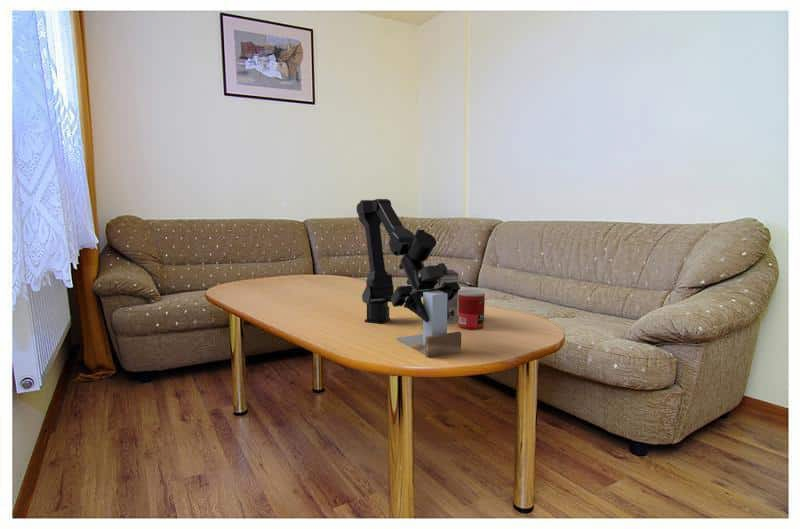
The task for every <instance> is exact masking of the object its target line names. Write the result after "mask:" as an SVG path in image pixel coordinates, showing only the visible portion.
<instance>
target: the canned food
mask: <svg viewBox="0 0 800 529" xmlns="http://www.w3.org/2000/svg"><path fill="white" fill-rule="evenodd" d="M485 298H486V297H485V291H482V290H479V289H478V290H477V289H460V290H459V291H458V317H457V325H458V328H460V329H463V330H466V329H468V330H469V331H476V330H477V329H479V330H482V329H483V328H484V327H485V300H486V299H485Z"/></svg>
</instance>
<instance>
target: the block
mask: <svg viewBox="0 0 800 529" xmlns="http://www.w3.org/2000/svg"><path fill="white" fill-rule="evenodd" d="M422 303H423V306H424V308H425V310H426V312H427V315H428V317H429V322H428V323H426V322H425V321H424V320H423V319H422V334H423V345H424V346H425V337H426V336H433V335H439V334H446V333H448V323H447V293H444V292H441V291H430V292H423V297H422Z"/></svg>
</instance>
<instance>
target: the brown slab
mask: <svg viewBox="0 0 800 529" xmlns="http://www.w3.org/2000/svg"><path fill="white" fill-rule="evenodd" d="M411 348H412V349H413V350H416V351H418V352H419V353H421V354H423V355H425V357H426V358H433V357H438V356H444V355H445V356H446V355H449V354H455V353H461V352H462V332H461V331H453V332H447V333H446V334H439V335H433V336H426V337H425V346H424V345H422V344H420V343H418V342H412V347H411Z"/></svg>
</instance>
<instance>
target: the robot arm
mask: <svg viewBox="0 0 800 529" xmlns="http://www.w3.org/2000/svg"><path fill="white" fill-rule="evenodd" d="M392 206H393V205H392V202H391V200H390V199H388V198H375V199H361V200H360V201H359V203H357V205H356V213H357V215H358V216H357V217H358V220H359V222H360V224H362V227H363V228H364V230H365V237H366V247H367V254H368V256H367V257H368V263H369V265H368V266H369V274H368V277H367V278H366V282H365V284H366V287H365V288H364V290H363V292H362V295H361V298H362V303H364V304H366V318H365V319H364V322H367V323H375V324H384V323H385V322H388V321H389V320H391V317H390V306H389V303H391V304H392V307H395V308H396V307H403V308H404V309H408V310H409V311H411V312H413V313H414V314H415V315H416V316H418V317H419V318H420V319H422V321H423V320H424V321H425V322H426V323H428V322H429V317H428V315H427V312H426V310H425V308H424V306H423V300H422V298H423V292H430V291H441V292H444V293H447V320H448V318H449V311H448V301H449V300H452V299H453V298H454V297H455V295H456V294H457V292H458V293H459V291H461V286H460V283H459V282H458V283H457V282H456V281H450V282H444V283H443V284H442V286H441V287H440V288H435V285H437V283H438V281H437V280H438V279H440V278H443V277H444V276H445V275H446V274H447V273H448V271H447V270H448V268H447V266H446V264H445V263H444V262H442V263H441V262H440V263H438V264H434V265H427V266H426V265H425V263H424V262H425V261H427V260H428V259H429V257H430V256H431V254H432V252H433V251H434V249H435V248H436V245H437V239H436V238H435V237H434V236H433V235H432V234H430V233H428V232H426V231H425V229H417V230H416V232H415V234H414V233H413V232H412V231H411V230H410V229H408V228H405V227H404V225H403V223H402V221H401V220H400V218H399V216H398V215H397V213H396V212H395V210H394V208H393V207H392ZM381 224H382V225H383V228H385V231H386V233H387V234H388V236H389V241H388V245H389V249H390V252H391V253H392V255H393V256H397V257H399V256H400V257H401V256H402V258H401V259H400V263H399V265H398V270H403V272H404V273H405V275H406V277H407V280H406V284H407V285H398V286H396V288H394V284H393V276H392V274H389V273H388V272H387V271H386V268H385V266H386V265H385V258H384V256H385V255H384V248H383V247H384V246H383V241H382V240H383V239H382V234H381V226H382V225H381Z"/></svg>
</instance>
